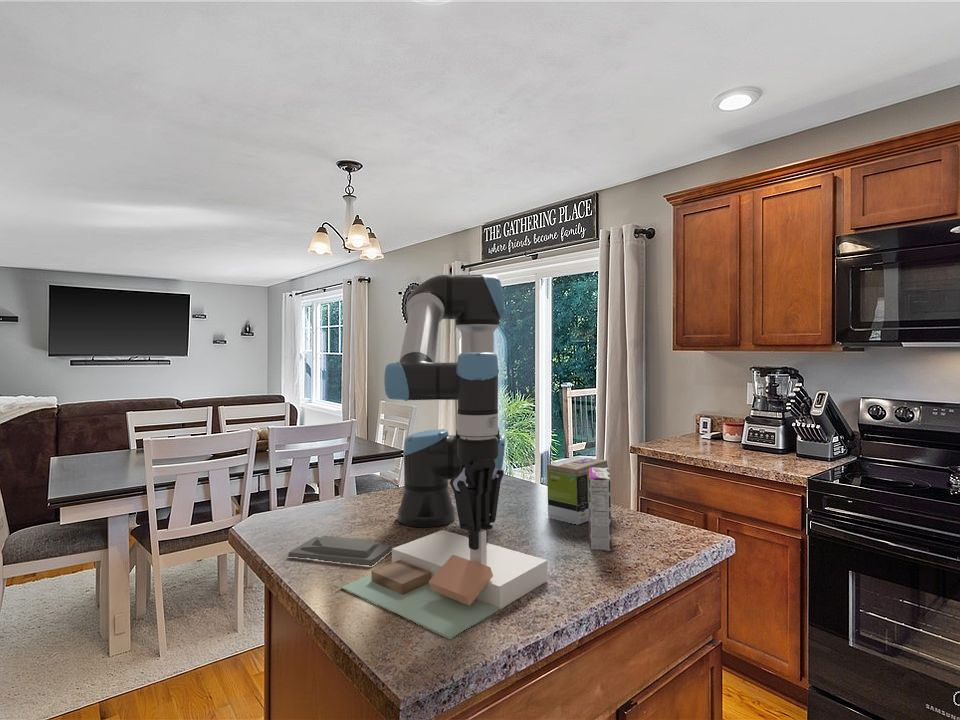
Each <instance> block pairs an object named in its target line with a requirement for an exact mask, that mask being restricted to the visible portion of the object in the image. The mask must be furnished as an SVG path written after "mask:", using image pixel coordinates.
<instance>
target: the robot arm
mask: <svg viewBox="0 0 960 720" xmlns="http://www.w3.org/2000/svg"><path fill="white" fill-rule="evenodd" d="M504 302H505V301H504V294H503V287H502V284H501V280H500V278H499V277H498V276H496V275H492V274H491V275H490V274H482V273H481V274H439V275H436V276H432V277H430V278H428V279H426V280H425V281H423V282H421V284H419V285H418V286H417V287H416V288H415V289H414V290H413V291H412V293H411V294H410V295H409V297H408V300H407V303H406V309H405V310H406V311H405V312H406V315H407V323H406V328H405V332H404V337H403V341H402V345H401V350H400V356H399V359H398V361H396V362H390V363H388V364H387V365H386V366H385V369H384V377H383V379H384V382H383V383H384V384H383V385H384V393H385V395H386V398H388V399H389V400H394V401H395V400H397V401H405V402H407V401H433V400H434V401H435V400H437V401H438V400H439V401H440V400H441V401H443V400H445V401H452V400H454V401H457V412H456V416H457V417H456V419H457V420H456V428H455V434H454V435H453V434H451V435H450V434H449V432H448V430H447V429H445V428H444V429H443V428H442V429H440V428H439V429H437V428H436V429H429V430H422V431H418V432H415V433H411V434H409V435H407V436H406V438H405V439H404V445H403V453H402V455H403V463H404V464H403V466H404V467H403V470H404V473H403V475H404V477H403V479H404V480H403V481H404V482H403V483H404V485H403V489H404V490H403V494H402V498H401V502H400V506H399V507H398V509H397V522H398V523H400V524H401V523H402V525H404V526H407V525H408V527H412V526H413V527H414V528H432V527H440V526H445V525H447V524H449V523H452V522H454V520H455V518H456V517H455V513H456V512H455V511H457V517H458V521H459V527H460V529H461V530H465V531H467V532H468V537H469V548H470V561H473V562H476V563H479V564H482V565H485V566H487V548H486V545H487V543H489V542H488V537H489V536H488V532H489V531H488V530H493V528H494V525H492V523H495V522H496V517H497V513H498V512H497V511H498V503H499V497H500V490H501V489H500V488H501V483H502V479H503V477H504V474H505V472H504V469H503V466H504V456H505V450H506V449H505V448H506V447H505V445H506V437H505V435H504V434H502V433H500V426H499V419H498V418H499V406H498V405H499V402H498V401H499V373H500V372H499V371H500V369H499V364H498V363H499V362H498V355H497V354H495V351H494V349H495V348H494V344H495V343H494V336H495V335H494V333H495V331H496V330H497V329H498V328H499V327H500V320H501V321H502V320H504V319H505V317H506V313H505V303H504ZM442 320H454V321H455V328H457V330H458V331H460V337H461V339H460V340H461V343H460V344H461V347H460V348H461V349H460V350H461V352H460V353H459V354H458V356H457V360H456V362H436V357H437V346H438V339H439V327H440V323H441V321H442ZM449 480H450V481H449ZM449 485H450V487H451V488H452V491H453V494H454V501H455V507H456V509H455V507H454V506H453V502H452V499H451V495H450V491H449Z"/></svg>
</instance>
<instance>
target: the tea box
mask: <svg viewBox="0 0 960 720" xmlns="http://www.w3.org/2000/svg"><path fill="white" fill-rule="evenodd" d="M591 467H595V468H609V467H608V460H605V459H597V458H592V457H590V458H589V457H583V456H574V457H572V458H568V459H564V460H559V461H557V462H553V463H548V464H546V470H547V471H546V473H547V474H546V477H547V481H546V482H547V484H546V485H547V486H546V487H547V517H548V518H549V517H550V518H549V519H552V518H553V519H552V520H555V519H557V520H556V521H559V520H561V521H560V522H563V521H565V522H564V523H566V522H568V523H567V524H570V523H572V524H571V525H574V524H576V525H575V526H579V525H581V524H583V523H586V522H589V468H591Z"/></svg>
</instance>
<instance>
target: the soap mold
mask: <svg viewBox="0 0 960 720" xmlns="http://www.w3.org/2000/svg"><path fill="white" fill-rule="evenodd" d="M392 548H393V545H392V544H387V543H378V542H375V541H372V540H370V539H361V538H354V537H352V538H351V537H344V536H343V537H341V536H332V535H322V536H315V537H314V536H313V538H310V539H309V540H307V541H306V542H304V543H302V544H300V545H299V546H296V548H294V549H292V550H289V552H288V556H287V558H288V557H298V558H310V559H318V560H324V561H332V562H340V563H351V564H359V565H369V566H372V565H374V564H375V563H376V562H378V561H379V560H380V559H381V558H382V557H384V556H385V555H386V554H388V553H389V552H390V551H392Z"/></svg>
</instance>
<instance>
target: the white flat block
mask: <svg viewBox="0 0 960 720" xmlns="http://www.w3.org/2000/svg"><path fill="white" fill-rule="evenodd" d="M486 548H487V566H488V567H490V568H491V571H492V574H493V577H492V578H491V579H490V581H489V582H488V583H487V584H486V586H485V587H484V588H483V589H482V591H481V592H480V593H479V595H478V596H477V597H476V598H475V600H478V601H480V602H483V603H485V604H488V605H491V606H493V607H496V608H498V611H499V610H502V609H504V608H505V607H507V606H508V605H510V604H511V603H513V602H515V601H517V600H518V599H519V598H522V597H524V596H525V595H526V594H528V593H529V592H531V591H533V590H535V589H536V588H538V587H540V586H541V585H543V584H545V583H546V582H547V581H548V560H547V559H544V558H541V557H537V556H534V555H530V554H527V553H523V552H520V551H516V550H512V549H509V548H506V547H503V546H499V545H495V544H493V543H489V542H487V545H486ZM452 555H455V556H458V557H461V558H464V559H467V560H470V548H469V536H465V535H462V534H457V533H455V532H451V531H447V530H444V529H442V530H441V529H440V530H439V531H435V532H433V533H430V534H428V535H425V536H422V537H419V538H417V539H415V540H412V541H410V542H406V543H403V544H400V545H398V546H396V547H392V552H391V563H393V562H396V561H399V560H401V561H403V562H406V563H408V564H411V565H414V566H416V567H419V568H421V569H424V570H427V571H429V572H431V578H432V577H433V576H434V575H435V574H436V573H437V572H438V571H439V569H440V568H441V567H442V566H443V565H444V564H445V563H446V562H447V560H448V559H449V558H450V557H451V556H452Z"/></svg>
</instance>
